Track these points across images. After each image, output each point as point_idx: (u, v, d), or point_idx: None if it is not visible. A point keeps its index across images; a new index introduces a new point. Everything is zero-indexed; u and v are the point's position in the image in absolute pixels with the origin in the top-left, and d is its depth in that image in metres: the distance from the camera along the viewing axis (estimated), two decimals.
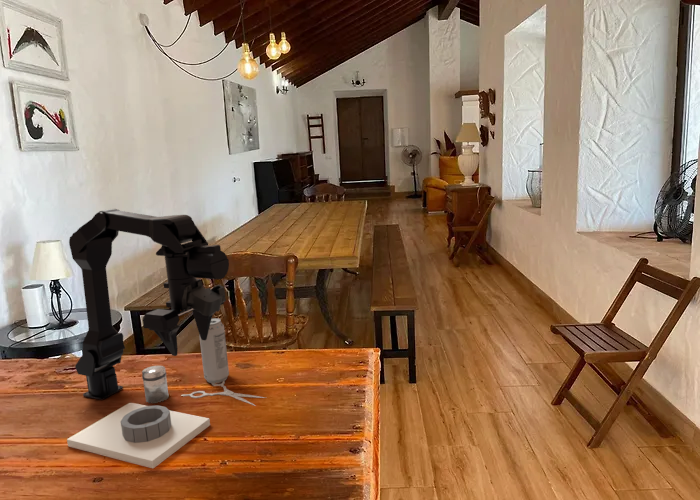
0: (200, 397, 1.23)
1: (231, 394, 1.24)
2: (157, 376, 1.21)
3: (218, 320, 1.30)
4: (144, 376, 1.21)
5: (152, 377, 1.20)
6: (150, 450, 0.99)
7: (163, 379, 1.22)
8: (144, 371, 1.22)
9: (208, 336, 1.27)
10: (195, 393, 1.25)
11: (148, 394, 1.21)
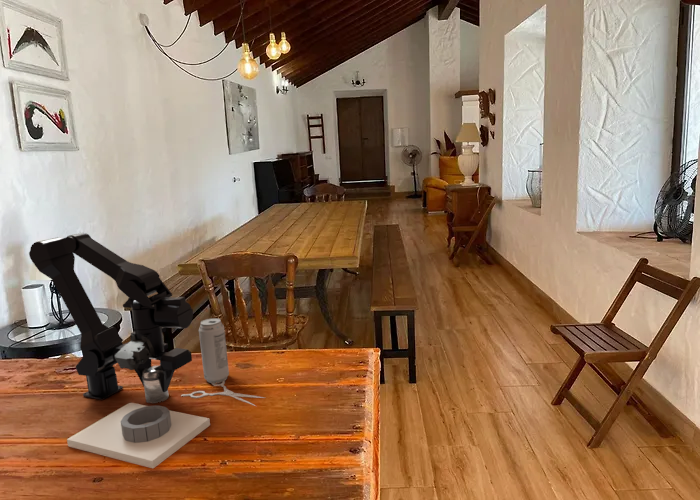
0: (200, 397, 1.23)
1: (231, 394, 1.24)
2: (157, 376, 1.21)
3: (218, 320, 1.30)
4: (144, 376, 1.21)
5: (152, 377, 1.20)
6: (150, 450, 0.99)
7: None
8: (144, 371, 1.22)
9: (208, 336, 1.27)
10: (195, 393, 1.25)
11: (148, 394, 1.21)
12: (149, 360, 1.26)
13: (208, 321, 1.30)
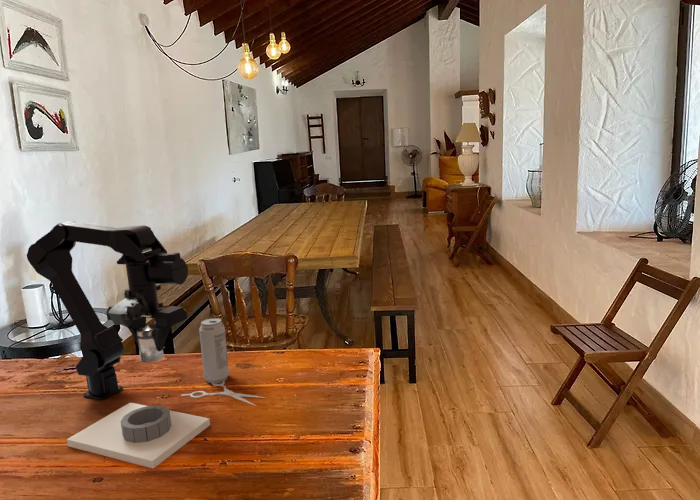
0: (200, 397, 1.23)
1: (231, 394, 1.24)
2: (152, 334, 1.19)
3: (219, 320, 1.30)
4: (138, 334, 1.19)
5: (147, 335, 1.18)
6: (150, 450, 0.99)
7: None
8: (139, 330, 1.20)
9: (208, 336, 1.27)
10: (195, 393, 1.25)
11: (143, 353, 1.19)
12: (144, 320, 1.24)
13: (209, 321, 1.30)
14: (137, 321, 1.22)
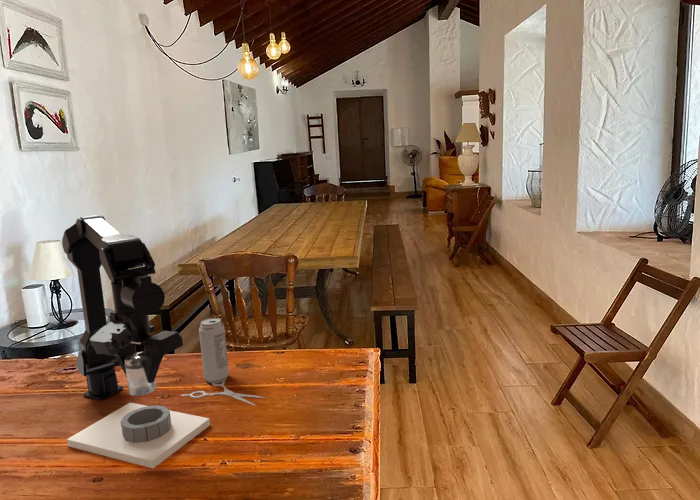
0: (200, 397, 1.23)
1: (231, 394, 1.24)
2: (142, 363, 1.02)
3: (218, 320, 1.30)
4: (126, 363, 1.02)
5: (136, 365, 1.02)
6: (150, 450, 0.99)
7: None
8: (127, 358, 1.03)
9: (208, 336, 1.27)
10: (195, 393, 1.25)
11: (132, 385, 1.03)
12: (133, 346, 1.07)
13: (208, 321, 1.30)
14: (125, 348, 1.05)
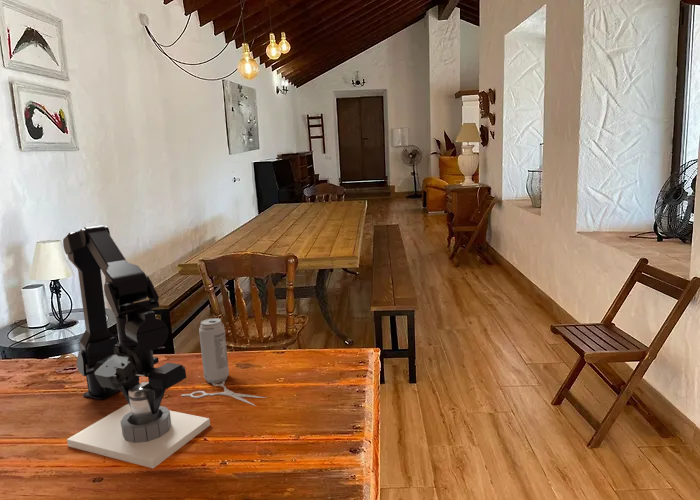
0: (200, 397, 1.23)
1: (231, 394, 1.24)
2: (146, 395, 1.03)
3: (218, 320, 1.30)
4: (130, 395, 1.03)
5: (140, 396, 1.03)
6: (150, 450, 0.99)
7: None
8: (131, 389, 1.04)
9: (208, 336, 1.27)
10: (195, 393, 1.25)
11: (135, 416, 1.04)
12: (137, 376, 1.08)
13: (208, 321, 1.30)
14: None
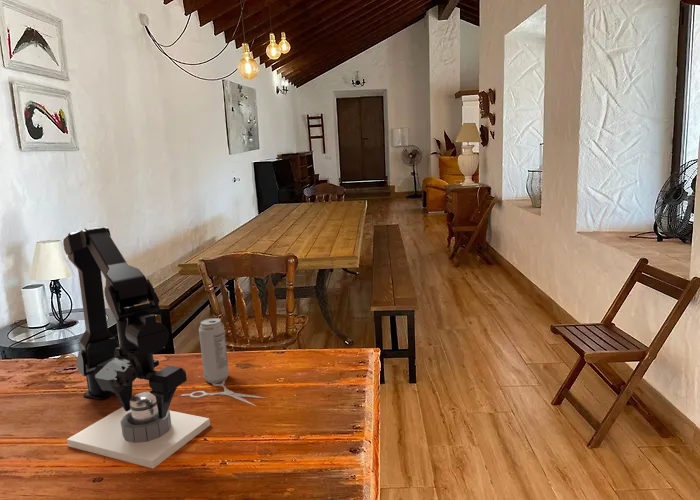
0: (200, 397, 1.23)
1: (231, 394, 1.24)
2: (147, 405, 1.04)
3: (218, 320, 1.30)
4: (132, 405, 1.04)
5: (141, 406, 1.03)
6: (150, 450, 0.99)
7: (154, 409, 1.05)
8: (132, 399, 1.05)
9: (208, 336, 1.27)
10: (195, 393, 1.25)
11: None
12: None
13: (208, 321, 1.30)
14: None
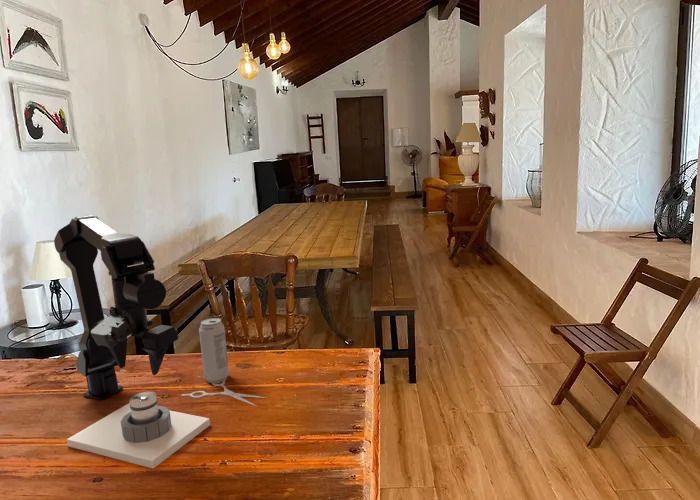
0: (200, 397, 1.23)
1: (231, 394, 1.24)
2: (147, 405, 1.04)
3: (218, 320, 1.30)
4: (132, 405, 1.04)
5: (141, 406, 1.03)
6: (150, 450, 0.99)
7: (154, 409, 1.05)
8: (132, 399, 1.05)
9: (208, 336, 1.27)
10: (195, 393, 1.25)
11: None
12: None
13: (208, 321, 1.30)
14: None
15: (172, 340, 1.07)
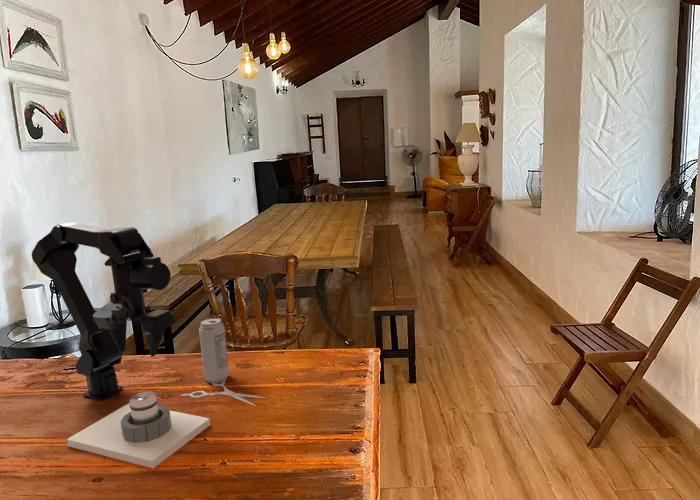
0: (200, 397, 1.23)
1: (231, 394, 1.24)
2: (147, 405, 1.04)
3: (218, 320, 1.30)
4: (132, 405, 1.04)
5: (141, 406, 1.03)
6: (150, 450, 0.99)
7: (154, 409, 1.05)
8: (132, 399, 1.05)
9: (208, 336, 1.27)
10: (195, 393, 1.25)
11: None
12: (124, 322, 1.22)
13: (208, 321, 1.30)
14: None
15: (168, 323, 1.15)
